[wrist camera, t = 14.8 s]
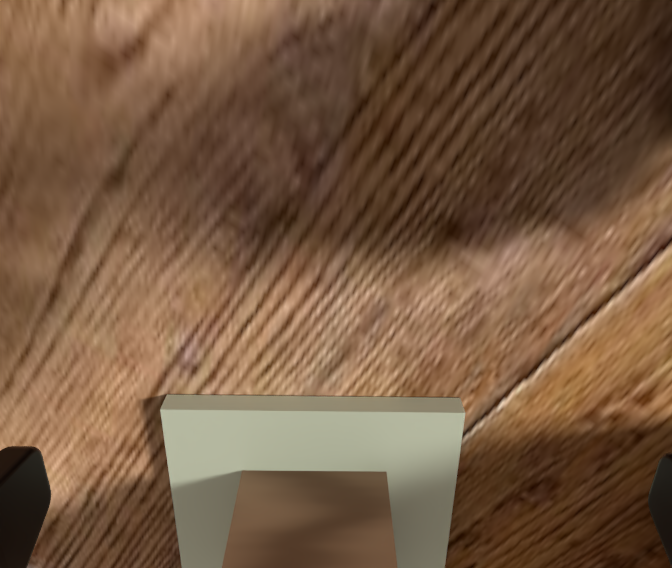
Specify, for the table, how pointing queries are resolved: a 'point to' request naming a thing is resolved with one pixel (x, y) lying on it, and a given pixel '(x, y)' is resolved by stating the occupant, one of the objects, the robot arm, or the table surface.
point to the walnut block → (311, 521)
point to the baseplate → (313, 460)
